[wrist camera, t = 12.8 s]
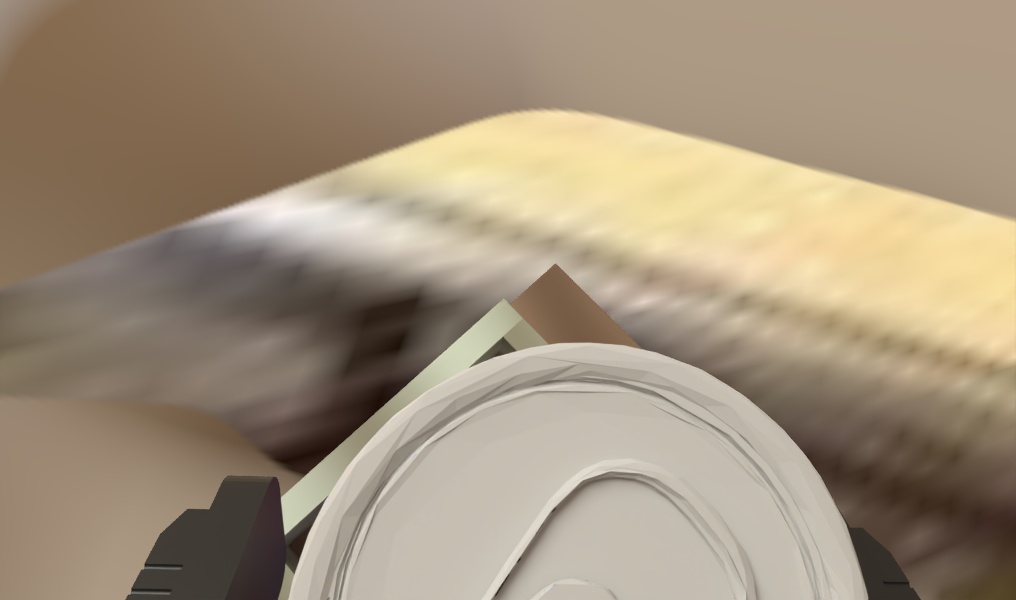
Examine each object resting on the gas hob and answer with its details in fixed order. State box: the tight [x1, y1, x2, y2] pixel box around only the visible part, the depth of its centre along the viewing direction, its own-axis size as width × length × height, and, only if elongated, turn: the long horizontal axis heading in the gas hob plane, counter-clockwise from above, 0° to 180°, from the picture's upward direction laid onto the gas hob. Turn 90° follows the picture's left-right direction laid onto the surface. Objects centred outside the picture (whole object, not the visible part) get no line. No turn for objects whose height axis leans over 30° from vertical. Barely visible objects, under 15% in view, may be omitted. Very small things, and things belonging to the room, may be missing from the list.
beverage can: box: [288, 343, 868, 600], centre depth 14 cm, size 6×6×15 cm
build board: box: [278, 264, 643, 600], centre depth 20 cm, size 15×12×4 cm
